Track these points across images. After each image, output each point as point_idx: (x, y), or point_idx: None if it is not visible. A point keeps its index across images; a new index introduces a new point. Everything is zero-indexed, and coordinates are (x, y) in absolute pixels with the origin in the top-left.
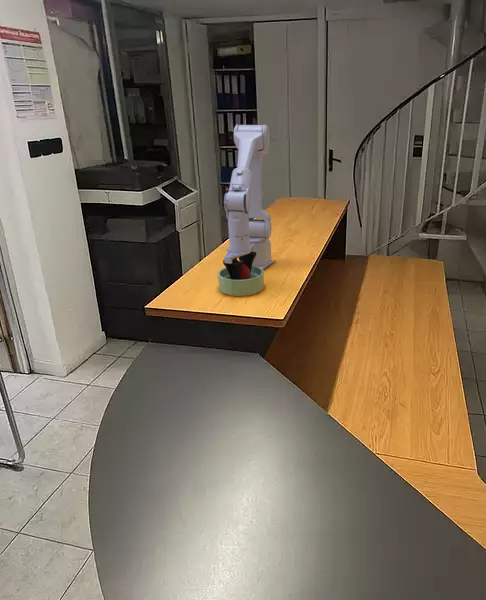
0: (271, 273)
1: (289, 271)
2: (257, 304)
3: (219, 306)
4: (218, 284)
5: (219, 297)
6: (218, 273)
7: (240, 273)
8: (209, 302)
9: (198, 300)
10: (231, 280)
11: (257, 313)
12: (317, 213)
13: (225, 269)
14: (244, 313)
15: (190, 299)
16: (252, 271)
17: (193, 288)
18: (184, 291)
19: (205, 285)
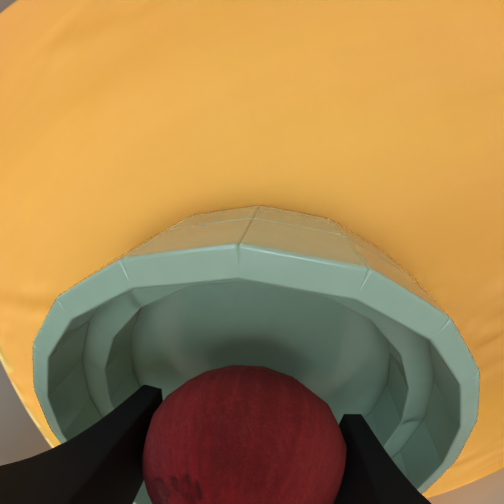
0: (498, 410)
1: (497, 447)
2: None
3: (10, 316)
4: (180, 221)
5: (70, 282)
6: (97, 283)
7: (132, 500)
8: (11, 252)
9: (8, 179)
10: (50, 426)
11: (57, 441)
12: None
13: (356, 296)
14: (32, 409)
15: (8, 127)
16: (409, 453)
17: (153, 18)
18: (95, 9)
19: (240, 62)
